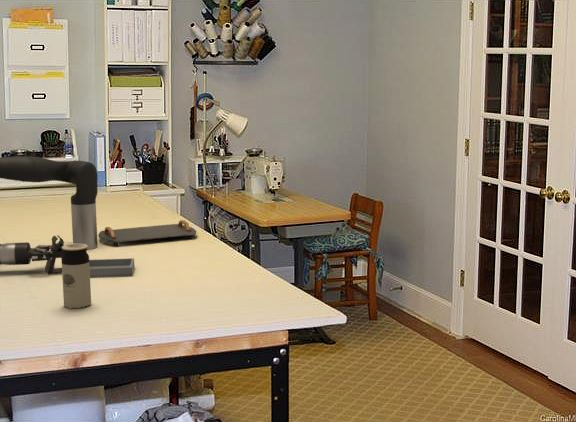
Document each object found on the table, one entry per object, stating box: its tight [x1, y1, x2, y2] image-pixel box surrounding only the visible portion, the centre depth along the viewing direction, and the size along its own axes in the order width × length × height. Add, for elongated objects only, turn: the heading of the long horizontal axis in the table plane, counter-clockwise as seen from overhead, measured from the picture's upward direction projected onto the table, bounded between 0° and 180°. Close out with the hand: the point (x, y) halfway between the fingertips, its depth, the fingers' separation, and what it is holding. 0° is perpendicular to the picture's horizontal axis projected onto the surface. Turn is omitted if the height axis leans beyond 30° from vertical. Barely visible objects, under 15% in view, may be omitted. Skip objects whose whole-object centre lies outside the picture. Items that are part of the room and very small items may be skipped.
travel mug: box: [60, 243, 92, 309], centre depth 274 cm, size 8×8×18 cm
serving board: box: [97, 219, 197, 248], centre depth 370 cm, size 39×23×6 cm, turn 115°
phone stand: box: [44, 234, 65, 275], centre depth 316 cm, size 9×6×12 cm, turn 114°
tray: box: [89, 257, 135, 279], centre depth 315 cm, size 14×17×3 cm
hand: (65, 252), depth 317 cm, fingers closed on phone stand, 6 cm apart
